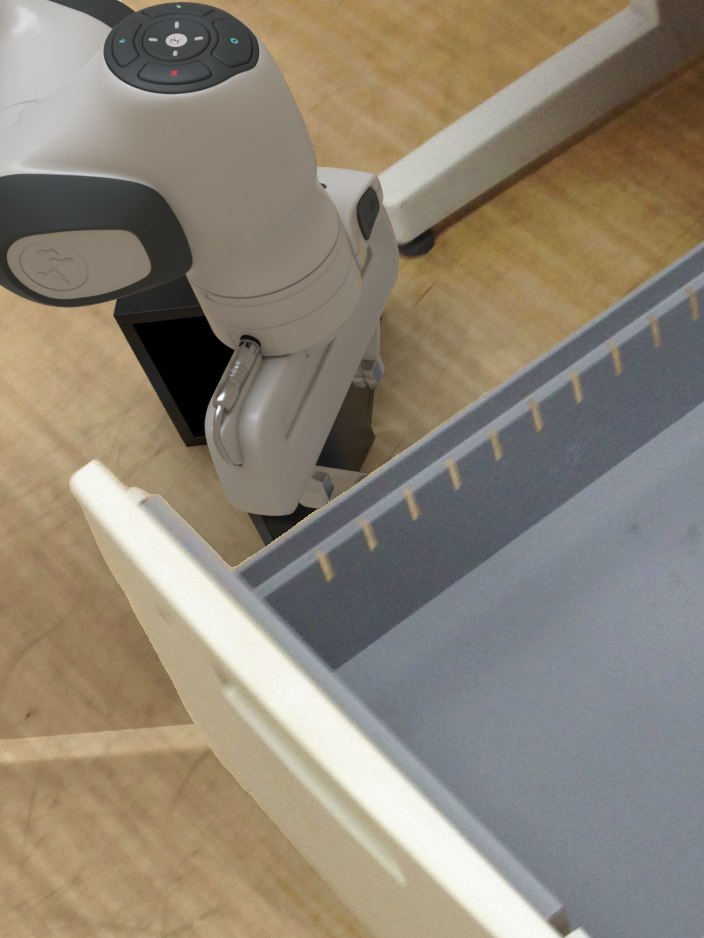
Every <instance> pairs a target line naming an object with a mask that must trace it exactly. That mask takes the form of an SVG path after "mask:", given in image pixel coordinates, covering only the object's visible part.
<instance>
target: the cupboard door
mask: <svg viewBox="0 0 704 938" xmlns="http://www.w3.org/2000/svg"><path fill="white" fill-rule="evenodd" d="M375 438H376V434H375V432H374V430H373V427H372V424H371V425H370V423H369V420H368V418H367V415H366V413H365V411H364V408H363V406H362V403H361V401H360V399H359V396H358V394H357V391H356V389H355V387H354V385H353V384H352V383H351V385H350V387H349V389H348V392H347V394H346V396H345V398H344V401H343V403H342V405H341V408H340V410H339V412H338V414H337V417H336V419H335V421H334V424H333V426H332V428H331V430H330V433H329V435H328V437H327V439H326V442H325V444H324V446H323V449H322V451H321V453H320V455H319V458H318V460H317V462H316V464H315V467H314V468H315V471H314V473H315V472H317V471H319V472H327V473H328V474H329V476H330V479H331V484H333V485H334V489H333V492H332V494H331V497H330V499H329V502H330V501H331V500H333V499H334V498H336V497H337V496H339V495H340V494H342V493H343V492H345V491H347V490H348V489H350V488H351V487H352V486H354V485H355V484H357V483H358V482H360V481H361V480H362V479H364V478H365V477H367V476H368V475H369V474H370V473H366V472H360V470H361V467H362V466H363V463H364V461H365V460H366V457H367V455H368V453H369V451H370V449H371V446H372V445H373V442H374V441H375ZM317 509H318V508H311V507H306V506H303V505H302V504H301V503H300V502H299V503H298V506H297V508H296V509H295V511H294V512H293V513H291V514H289V515H282V516H269V515H260V514H253V513H248V512H246V513H247V515H248V517H249V518H250V520H251V523H252V524H253V526H254V527H255V529H256V532H257V533H258V535H259V537H260V539H261V540H262V543H263V544H264V547H266V546H267V545H268V544H270V543H271V542H272V541H274V540H275V539H276V538H278V537H279V536H281V535H282V534H283V533H285V532H287V531H288V530H289V529H291V528H292V527H293V526H295V525H296V524H297V523H298V522H300V521H301V520H303V519H304V518H305V517H307V516H308V515H309V514H311V513H312V512H314V511H315V510H317Z"/></svg>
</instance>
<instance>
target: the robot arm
mask: <svg viewBox="0 0 704 938" xmlns="http://www.w3.org/2000/svg"><path fill="white" fill-rule="evenodd" d="M383 191H384V190H383V187H382V184H381V181H380V179H379V177H378V175H377V174H376V173H373V172H369V171H363V170H357V169H349V168H341V167H334V166H333V167H332V166H318V159H317V152H316V149H315V146H314V143H313V140H312V137H311V135H310V133H309V129H308V128H307V125H306V122H305V120H304V117H303V115H302V113H301V110H300V108H299V106H298V103H297V101H296V99H295V97H294V95H293V93H292V90H291V88H290V86H289V84H288V82H287V80H286V78H285V76H284V74H283V73H282V71H281V69H280V68H279V65H278V63H277V61H276V60H275V59H274V57H273V55H272V54H271V52H270V50H269V49H268V48H267V46H266V45H265V43H264V42H263V41H262V40H261V38H260V37H259V36H258V35H257V34H256V32H255V31H254V30H253V29H251V27H249V25H248V24H246V23H245V22H243V20H241V19H239V18H238V17H236V16H235V15H234V14H232V13H230V12H228V11H226V10H224V9H221V8H219V7H216V6H213V5H210V4H206V3H201V2H193V1H174V2H173V1H171V2H164V3H158V4H153V5H151V6H148V7H145V8H141V9H139V10H137V11H135V9H133V8H131V7H130V6H128V5H127V4H125V3H123V1H122V2H120V1H118V0H0V286H1V287H2V288H3V289H5V290H7V291H9V292H11V293H13V294H14V295H16V296H18V297H20V298H22V299H24V300H27V301H30V302H33V303H36V304H39V305H43V306H47V307H54V308H65V309H66V308H70V309H71V308H72V309H73V308H83V307H89V306H95V305H100V304H103V303H108V302H111V301H116V300H117V299H119V298H123V297H126V296H130V295H133V294H137V293H140V292H143V291H146V290H149V289H153V288H155V287H158V286H161V285H163V284H166V283H169V282H171V281H173V280H176V279H178V278H180V277H181V276H183V275H185V274H186V276H187V279H188V281H189V283H190V285H191V287H192V289H193V291H194V293H195V296H196V298H197V300H198V302H199V303H200V306H201V308H202V310H203V312H204V314H205V316H206V318H207V320H208V322H209V324H210V327H211V328H212V330H213V332H214V334H215V335H216V336H217V337H218V338H219V340H220V341H222V342H223V343H224V344H225V345H227V346H228V347H230V348H232V349H234V350H235V351H234V353H233V355H232V357H231V359H230V361H229V363H228V366H227V368H226V370H225V372H224V374H223V376H222V378H221V380H220V382H219V384H218V386H217V388H216V390H215V392H214V394H213V396H212V398H211V401H210V403H209V406H208V409H207V412H206V418H205V434H206V440H207V444H208V445H207V447H208V451H209V454H210V457H211V460H212V463H213V467H214V469H215V471H216V472H215V473H216V475H217V477H218V480H219V482H220V485H221V487H222V489H223V492H224V494H225V496H226V498H227V500H228V502H229V504H230V505H231V506H232V507H233V508H235V509H236V510H238V511H241V512H243V513H247V512H248V513H253V514H260V515H269V516H282V515H289V514H291V513H293V512H294V511H295V509H296V508H297V506H298V503H299V502H300V503H301V504H302V505H303V506H306V507H311V508H318V509H320V508H321V507H323V506H325V505H326V504H328V501H329V499H330V497H331V494H332V492H333V489H334V485H333V484H331V479H330V476H329V474H328V473H327V472H319V471H317V472H315V473H314V471H315V468H314V467H315V464H316V462H317V460H318V458H319V455H320V453H321V451H322V449H323V446H324V444H325V442H326V439H327V437H328V435H329V433H330V430H331V428H332V426H333V424H334V421H335V419H336V417H337V414H338V412H339V410H340V408H341V405H342V403H343V401H344V398H345V396H346V394H347V392H348V389H349V387H350V385H351V383H352V384H353V385H354V386H356V387H358V388H365V387H368V388H369V389H374V390H376V389H378V387H379V385H380V383H381V380H382V378H383V376H384V373H385V371H386V367H385V365H384V362H383V359H382V356H381V354H380V353H381V329H380V317H381V314H382V315H383V312H384V310H385V308H386V306H387V302H388V300H389V298H390V296H391V294H392V291H393V289H394V287H395V285H396V284H397V281H398V278H399V271H400V250H399V245H398V242H397V238H396V235H395V232H394V228H393V226H392V222H391V219H390V216H389V214H388V212H387V209H386V207H385V205H384V204H383V203H384V192H383ZM248 513H247V514H248Z"/></svg>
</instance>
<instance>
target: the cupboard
mask: <svg viewBox="0 0 704 938" xmlns="http://www.w3.org/2000/svg"><path fill="white" fill-rule="evenodd" d="M114 304H115V305H114V308H113V309H114V310H113V315H112V316H113V318H114V320H115V321H116V324H117V325H118V328H119V329H120V332H122V334H123V337H124V338H125V340H126V343H128V345H129V347H130V350H131V351H132V352H133V355H134V356H135V358H136V360H137V362H138V363H139V365H140V367H141V369H142V370H143V372H144V375H146V378H147V380H148V381H149V383H150V385H151V386H152V388H153V390H154V393H156V395H157V397H158V399H159V401H160V403H161V404H162V407H163V408H164V410H165V412H166V413H167V416H168V417H169V419H170V420H171V422H172V424H173V426H174V428H175V430H176V432H177V433H178V435H179V437H180V439H181V440H182V442H183V443H184V446H185V447H186V448H188V447H197V446H198V447H199V446H208V444H207V440H206V434H205V418H206V412H207V409H208V406H209V403H210V401H211V398H212V396H213V394H214V392H215V390H216V388H217V386H218V384H219V382H220V380H221V378H222V376H223V374H224V372H225V370H226V368H227V366H228V363H229V361H230V359H231V357H232V355H233V353H234V351H235V350H234V349H232V348H230V347H228V346H227V345H225V344H224V343H223V342H222V341H220V340H219V338H218V337H217V336H216V335H215V334H214V332H213V330H212V328H211V327H210V324H209V322H208V320H207V318H206V316H205V314H204V312H203V310H202V308H201V306H200V303H199V302H198V300H197V298H196V296H195V293H194V291H193V289H192V287H191V285H190V283H189V281H188V279H187V276H186V274H185V275H183V276H181V277H180V278H178V279H176V280H173V281H171V282H169V283H166V284H163V285H161V286H158V287H155V288H153V289H149V290H146V291H143V292H140V293H137V294H133V295H130V296H126V297H123V298H119V299H116V300H115V303H114ZM382 319H383V313H382V314H381V317H380V330H381V328H382ZM354 387H355V389H356V391H357V394H358V396H359V399H360V401H361V403H362V406H363V408H364V411H365V413H366V415H367V418H368V420H369V423H370V425H371V426H372V420H373V419H372V418H373V407H374V396H375V389H369V388H368V387H365V388H358V387H356V386H354Z"/></svg>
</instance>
